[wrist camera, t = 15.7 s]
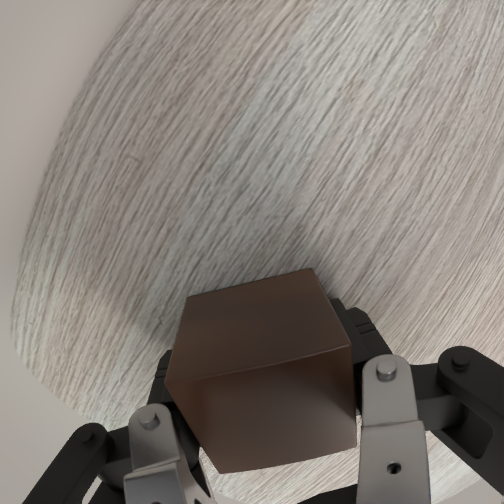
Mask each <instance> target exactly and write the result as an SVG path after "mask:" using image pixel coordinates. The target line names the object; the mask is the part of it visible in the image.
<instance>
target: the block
mask: <svg viewBox="0 0 504 504" xmlns="http://www.w3.org/2000/svg"><path fill="white" fill-rule="evenodd" d="M164 383H165V386H166V387H167V389H168V391H169V393H170V395H171V396H172V398H173V400H174V402H175V404H176V405H177V407H178V409H179V411H180V412H181V414H182V416H183V417H184V419H185V421H186V422H187V424H188V426H189V427H190V429H191V431H192V432H193V434H194V435H195V437H196V439H197V440H198V442H199V443H200V445H201V447H202V448H203V450H204V451H205V453H206V454H207V456H208V457H209V459H210V460H211V462H212V463H213V465H214V466H215V468H216V469H217V471H218V472H219V473H220V474H226V473H234V472H242V471H250V470H257V469H263V468H269V467H275V466H280V465H285V464H291V463H295V462H300V461H305V460H309V459H313V458H318V457H322V456H326V455H330V454H333V453H337V452H341V451H344V450H348V449H351V448H355V447H356V446H357V428H356V403H355V385H354V370H353V357H352V345H351V342H350V340H349V338H348V336H347V334H346V332H345V330H344V328H343V326H342V324H341V322H340V320H339V318H338V317H337V315H336V313H335V311H334V309H333V307H332V305H331V303H330V301H329V299H328V297H327V296H326V294H325V292H324V290H323V288H322V286H321V284H320V282H319V281H318V279H317V277H316V275H315V273H314V271H313V270H312V268H309V269H305V270H301V271H297V272H293V273H289V274H285V275H280V276H276V277H272V278H268V279H264V280H260V281H256V282H251V283H247V284H243V285H239V286H235V287H230V288H226V289H222V290H217V291H213V292H209V293H204V294H200V295H195V296H191V297H188V298H187V299H186V303H185V306H184V310H183V314H182V317H181V321H180V324H179V328H178V332H177V335H176V339H175V343H174V347H173V350H172V354H171V358H170V362H169V366H168V369H167V373H166V377H165V381H164Z"/></svg>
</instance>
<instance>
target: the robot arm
mask: <svg viewBox="0 0 504 504" xmlns="http://www.w3.org/2000/svg"><path fill="white" fill-rule="evenodd" d="M329 301H330V303H331V305H332V307H333V309H334V311H335V313H336V315H337V317H338V318H339V320H340V322H341V324H342V326H343V328H344V330H345V332H346V334H347V336H348V338H349V340H350V342H351V345H352V357H353V370H354V385H355V403H356V416H357V415H361V418H362V426H361V440H360V460H359V475H358V484H354V485H351V486H348V487H344V488H340V489H336V490H333V491H329V492H325V493H320V494H318V495H316V496H313V497H311V498H309V499H307V500H304V501H302V502H300V503H297V504H431V494H430V477H429V464H428V454H427V444H426V435H425V431H428V430H430V431H431V432H432V433H433V434H434V435H435V436H436V437H437V438H438V439H439V440H441V441H442V442H443V443H444V444H445V445H446V446H447V447H448V448H449V449H451V450H452V451H453V452H454V453H455V454H456V455H457V456H458V457H460V458H461V459H462V460H463V461H464V462H465V463H466V464H467V465H468V466H470V467H471V468H472V469H473V470H474V471H475V472H476V473H478V474H479V475H480V476H481V477H482V478H483V479H484V480H486V481H487V482H488V483H489V484H490V485H491V486H492V487H493V488H495V489H496V490H497V491H498V492H499V493H500V494H501V495H503V499H502V502H501V504H504V367H502V366H501V365H499V364H497V363H496V362H494V361H493V360H491V359H489V358H488V357H486V356H484V355H483V354H481V353H480V352H478V351H476V350H475V349H473V348H470V347H466V346H455V347H451V348H449V349H447V350H445V351H444V352H443V353H442V354H441V355H440V357H439V359H438V363H433V364H425V365H410V364H409V363H408V362H407V360H405V359H404V358H402V357H400V356H397V355H393V353H392V352H391V350H390V349H389V347H388V345H387V344H386V342H385V341H384V339H383V338H382V336H381V335H380V333H379V332H378V330H376V327H375V326H374V324H373V323H372V321H371V320H370V318H369V317H368V315H367V314H366V313H365V312H364V311H362V310H360V309H358V308H356V307H355V308H351V309H347V310H346V309H345V308H344V306H343V304H342V302H341V301H340V299H339V298H336V299H332V300H329ZM172 350H173V349H170V350H167V351H166V352H165V354H164V355H163V356H162V357H161V359H160V360H159V364H158V367H157V371H156V374H155V379H154V381H153V384H152V388H151V391H150V395H149V398H148V402H147V405H145V406H143V407H141V408H139V409H138V410H137V411H135V412H134V413H133V415H132V416H131V417H130V420H129V423H128V426H126V427H123V428H119V429H116V430H113V431H110V432H107V430H106V429H105V428H104V427H103V426H102V425H101V424H99V423H88V424H85V425H83V426H81V427H79V428H78V429H77V430H76V431H75V432H74V433H73V434H72V436H71V437H70V438H69V440H68V441H67V442H66V444H65V445H64V447H63V448H62V449H61V451H60V452H59V453H58V455H57V456H56V457H55V459H54V460H53V461H52V463H51V464H50V466H49V467H48V468H47V470H46V471H45V472H44V474H43V475H42V477H41V478H40V479H39V481H38V482H37V484H36V485H35V486H34V488H33V489H32V491H31V492H30V493H29V495H28V496H27V498H26V499H25V500H24V502H23V503H22V504H82V500H83V497H84V496H85V494H86V493H87V491H88V489H89V488H90V486H91V485H92V483H93V482H94V480H95V478H96V477H97V476H98V477H99V478H100V479H101V480H102V482H101V484H100V485H99V487H98V489H97V490H96V492H95V494H94V495H93V497H92V498H91V500H90V502H89V503H88V504H217V502H216V500H215V497H214V495H213V492H212V489H211V486H210V483H209V480H208V478H207V475H206V472H205V469H204V466H203V463H202V460H201V459H200V457H199V448H200V447H201V445H200V443H199V442H198V440H197V439H196V437H195V435H194V434H193V432H192V431H191V429H190V427H189V426H188V424H187V422H186V421H185V419H184V417H183V416H182V414H181V412H180V411H179V409H178V407H177V405H176V404H175V402H174V400H173V398H172V396H171V395H170V393H169V391H168V389H167V387H166V386H165V383H164V381H165V377H166V373H167V369H168V366H169V362H170V358H171V354H172Z"/></svg>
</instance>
